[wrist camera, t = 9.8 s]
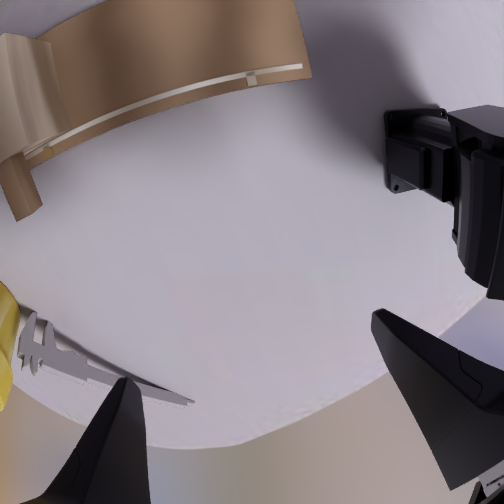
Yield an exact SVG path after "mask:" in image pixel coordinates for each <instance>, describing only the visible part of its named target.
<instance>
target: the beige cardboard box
mask: <svg viewBox="0 0 504 504" xmlns="http://www.w3.org/2000/svg"><path fill="white" fill-rule="evenodd" d="M71 129H72V128H71V124H70V121H69V118H68V114H67V111H66V107H65V103H64V100H63V96H62V92H61V88H60V84H59V79H58V75H57V71H56V66H55V61H54V56H53V51H52V45H51V43H49V42H46V41H42V40H38V39H34V38H30V37H25V36H21V35H16V34H11V33H6V32H5V33H4V34H2V35H1V36H0V183H1V186H2V189H3V191H4V194H5V196H6V199H7V201H8V204H9V206H10V208H11V211H12V213H13V215H14V217H15V220H16V222H17V221H19V220H21V219H23V218H25V217H27V216H29V215H31V214H33V213H34V212H35V211H36V210H37V209H38V208H39V207H41V206H42V205H43V204H42V201H41V199H40V196H39V194H38V191H37V189H36V186H35V184H34V181H33V179H32V176H31V173H30V171H29V168H28V165H27V162H26V159H25V155H26V154H28V153H29V152H31V151H33V150H34V149H36V148H38V147H40V146H41V145H43V144H45V143H47V142H48V141H50V140H52V139H54V138H56V137H58V136H60V135H61V134H63V133H65V132H67V131H69V130H71Z"/></svg>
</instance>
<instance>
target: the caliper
mask: <svg viewBox="0 0 504 504" xmlns="http://www.w3.org/2000/svg"><path fill="white" fill-rule="evenodd" d="M36 317H37V313H36V312H32V314H31V315H30V317H29V319H28V321H27V323H26V325H25V327H24V329H23V331H22V333H21V335H20V337H19V344H18V352H17V357H19V358H21V359H22V369H21V371H23V370H24V369H25V368H26V367H27V365H28V363H29V361H30V369H31V372H32V374H33V376H35V375H36V373H37V369H38V363H39V364H40V368H41V369H42V370H45V371H47V372H49V373H52V374H54V375H57V376H60V377H62V378H65V379H67V380H70V381H73V382H76V383H79V384H81V385H83V384H84V383H85V382H87V383H89V384H92V385H95V386H98V387H101V388H104V389H107V390H110V391H111V389H112V387H113V386H114V384H115V383H116V381H117V380H118V379H119V378H120V376H117V375H114V374H111V373H108V372H106V371H103V370H100V369H97V368H95V367H92V366H90V365H87V357H85V356H80V355H77V354H76V353H75V352H73V351H66V350H64V351H61V350H59V349H57V348H56V343H55V337H54V331H53V325H52V323H51V322H49V321H47V323H46V325H45V329H44V332H43V339H42V345H41V344H39V343H36V342H34V341H33V337H34V329H35V322H36ZM134 382H135V381H134ZM135 383H136V385H137V386H138V387H139V388H140V390H141V394H142V400H145V401H149V402H153V403H157V404H161V405H166V406H170V407H175V408H180V409H183V408H185V407H186V406H187V407H189V406H190V405H192V404H194V403H195V401H192V400H188V399H186V397H183V396H181V395H179V394H176V393H174V392H170V391H166V390H162V389H159V388H155V387H152V386H148V385H145V384H141V383H138V382H135Z"/></svg>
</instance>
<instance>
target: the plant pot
mask: <svg viewBox="0 0 504 504" xmlns="http://www.w3.org/2000/svg"><path fill="white" fill-rule="evenodd" d="M20 318H21V317H20V310H19V307H18V304H17V302H16V300H15V298H14V297H13V295H12V294H11V293H10V291H9V290H8V289H7V288H6V287H5V286H4V285H3V284H2V283H1V282H0V411H2V410H3V409H4V406H5V404H6V401H7V398H8V395H9V392H10V388H11V385H12V382H13V373H12V369H11V366H10V365H11V359H12V354H13V349H14V345H15V340H16V336H17V332H18V328H19V324H20Z"/></svg>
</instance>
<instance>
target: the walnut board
mask: <svg viewBox="0 0 504 504" xmlns="http://www.w3.org/2000/svg"><path fill="white" fill-rule="evenodd" d="M36 39H38V40H42V41H46V42H49V43H51V45H52V51H53V56H54V61H55V66H56V71H57V75H58V79H59V84H60V88H61V92H62V96H63V100H64V103H65V107H66V111H67V114H68V118H69V121H70V124H71V128H72V129H71V130H69V131H67V132H65V133H63V134H61V135H60V136H58V137H56V138H54V139H52V140H50V141H48V142H47V143H45V144H43V145H41V146H40V147H38V148H36V149H34V150H33V151H31V152H29V153H28V154H26V155H25V159H26V162H27V165H28V168H29V170H30V169H32V168H34V167H35V166H37V165H39V164H41V163H43V162H44V161H46V160H48V159H50V158H52V157H54V156H56V155H58V154H60V153H61V152H63V151H65V150H67V149H69V148H72V147H74V146H76V145H78V144H80V143H82V142H84V141H86V140H89V139H91V138H93V137H95V136H97V135H100V134H102V133H104V132H107V131H109V130H112V129H114V128H117V127H119V126H122V125H124V124H127V123H129V122H132V121H135V120H137V119H140V118H143V117H146V116H148V115H151V114H154V113H157V112H160V111H163V110H166V109H169V108H173V107H176V106H179V105H183V104H186V103H189V102H193V101H196V100H200V99H204V98H208V97H212V96H216V95H220V94H224V93H228V92H233V91H237V90H242V89H247V88H252V87H257V86H262V85H268V84H274V83H280V82H286V81H293V80H301V79H308V78H313V77H312V72H311V68H310V63H309V58H308V54H307V49H306V45H305V41H304V37H303V33H302V29H301V25H300V21H299V17H298V13H297V9H296V6H295V2H294V0H108V1H106V2H104V3H101V4H99V5H97V6H95V7H92V8H90V9H88V10H86V11H84V12H82V13H80V14H78V15H76V16H74V17H72V18H70V19H68V20H66V21H65V22H63V23H61V24H59V25H57V26H56V27H54V28H52V29H51V30H49V31H47V32H46V33H44V34H42V35H41V36H39V37H38V38H36Z"/></svg>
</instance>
